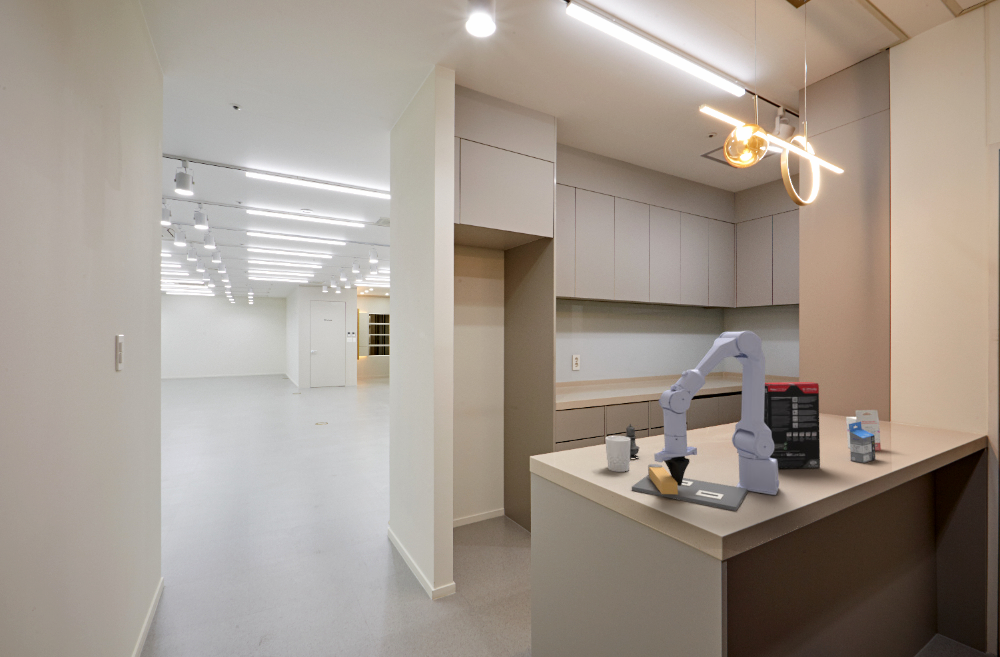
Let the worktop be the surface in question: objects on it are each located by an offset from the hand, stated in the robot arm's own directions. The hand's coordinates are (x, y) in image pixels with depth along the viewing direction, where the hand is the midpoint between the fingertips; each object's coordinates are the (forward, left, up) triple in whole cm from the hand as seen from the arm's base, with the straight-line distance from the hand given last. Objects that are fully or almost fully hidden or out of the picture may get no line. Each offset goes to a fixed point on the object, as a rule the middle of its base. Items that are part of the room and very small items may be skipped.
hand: (677, 484), depth 118 cm
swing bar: (+5, -1, -1) cm, 5 cm away
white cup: (+22, -12, -3) cm, 25 cm away
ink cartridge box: (-42, -86, -3) cm, 95 cm away
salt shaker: (+24, -28, -3) cm, 37 cm away
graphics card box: (-22, -45, -3) cm, 51 cm away
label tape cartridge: (-41, -67, -3) cm, 79 cm away
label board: (-2, -3, -2) cm, 5 cm away
